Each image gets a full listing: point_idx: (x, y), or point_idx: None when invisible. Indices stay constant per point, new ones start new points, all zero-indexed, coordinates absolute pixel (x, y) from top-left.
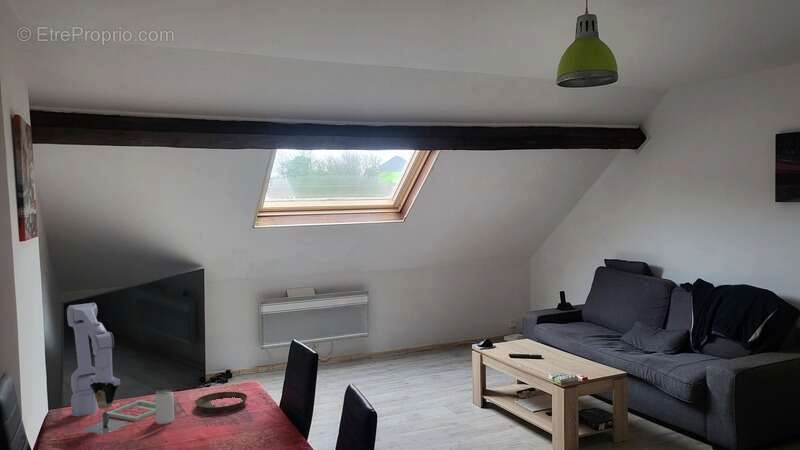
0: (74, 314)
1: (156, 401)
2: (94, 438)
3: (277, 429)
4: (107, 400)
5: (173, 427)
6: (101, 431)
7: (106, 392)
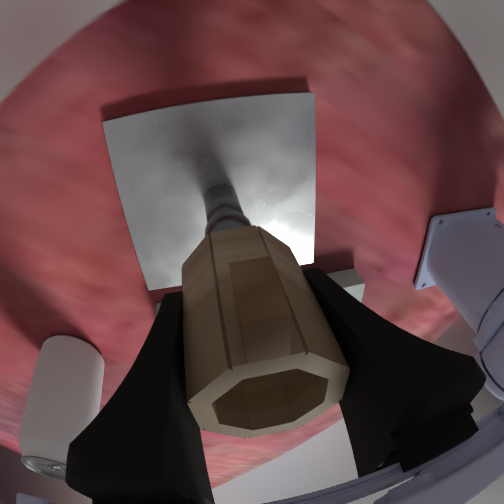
0: None
1: (42, 421)
2: (128, 77)
3: None
4: (156, 318)
5: (10, 342)
6: (162, 141)
7: (127, 396)
